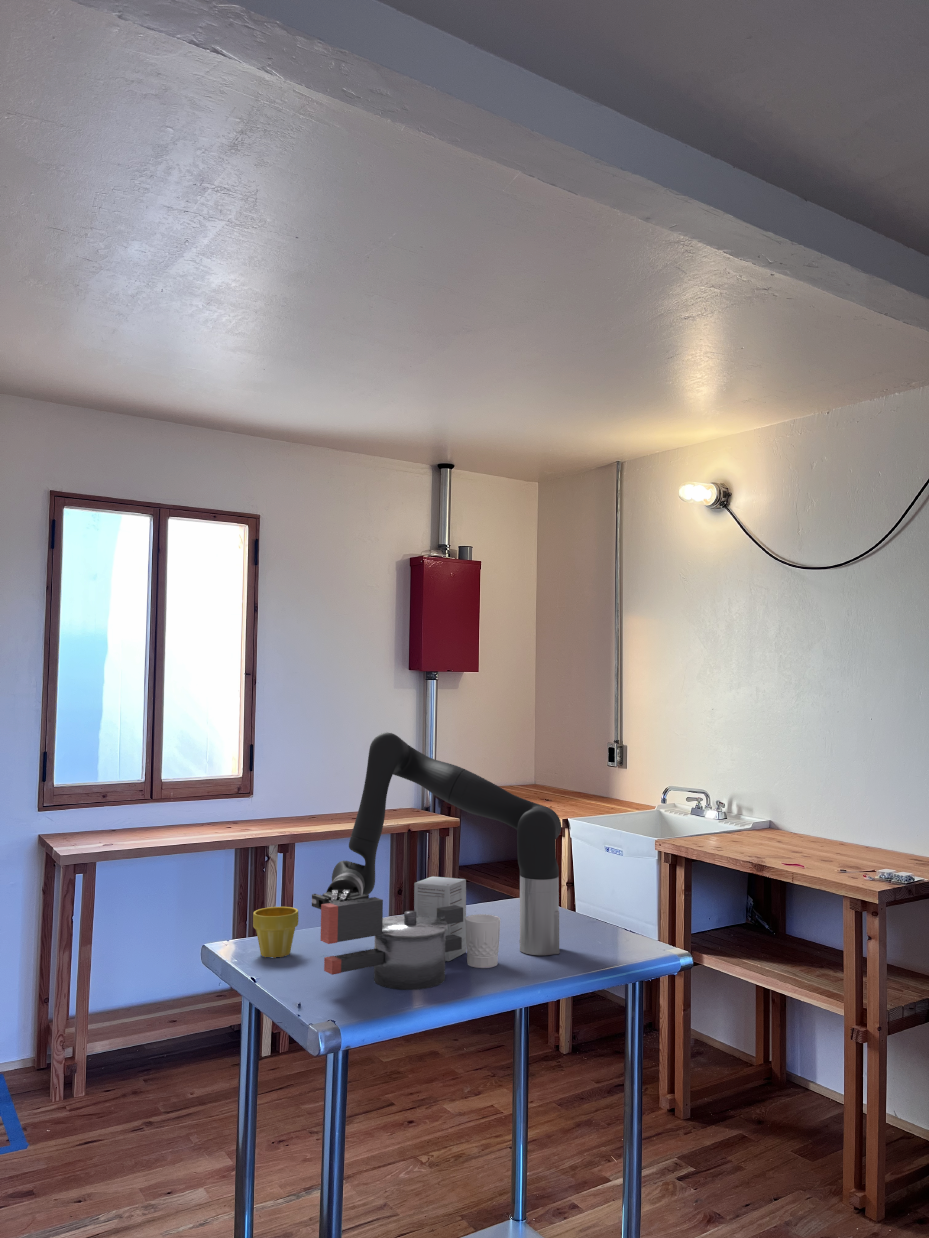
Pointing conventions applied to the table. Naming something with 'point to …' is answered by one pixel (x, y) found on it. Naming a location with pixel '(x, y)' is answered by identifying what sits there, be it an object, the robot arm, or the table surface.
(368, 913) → the lid
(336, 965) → the pot
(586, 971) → the table surface
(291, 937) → the plant pot
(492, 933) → the white cup
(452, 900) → the supplement box
